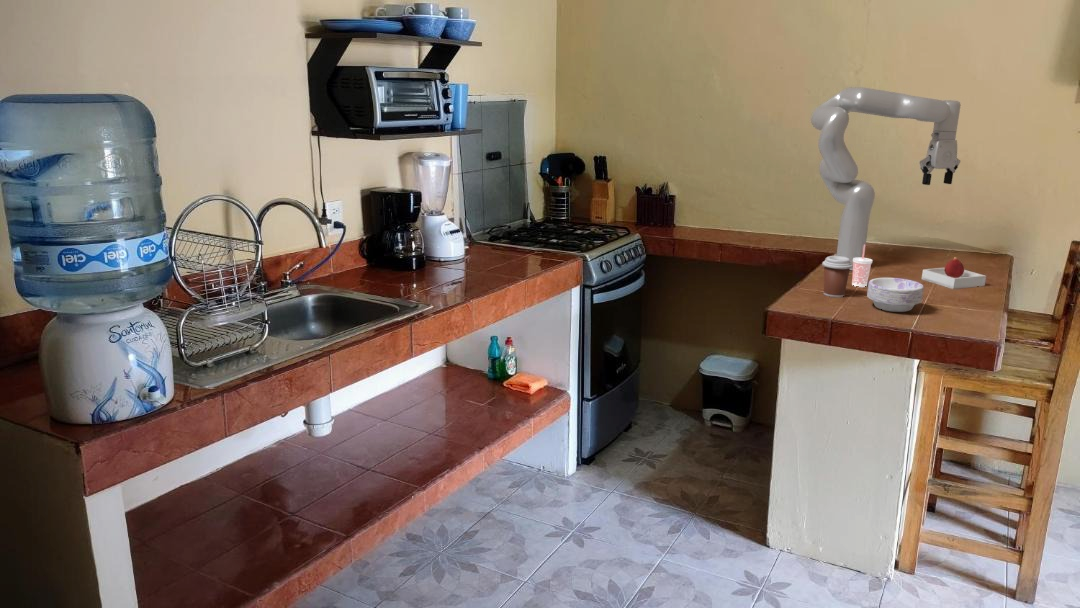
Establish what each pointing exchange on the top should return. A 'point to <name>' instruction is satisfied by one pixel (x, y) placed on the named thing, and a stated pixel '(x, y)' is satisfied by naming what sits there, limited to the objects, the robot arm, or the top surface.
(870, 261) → the beverage cup
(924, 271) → the box
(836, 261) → the coffee cup
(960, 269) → the onion
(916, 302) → the paper bowls
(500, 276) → the top surface
